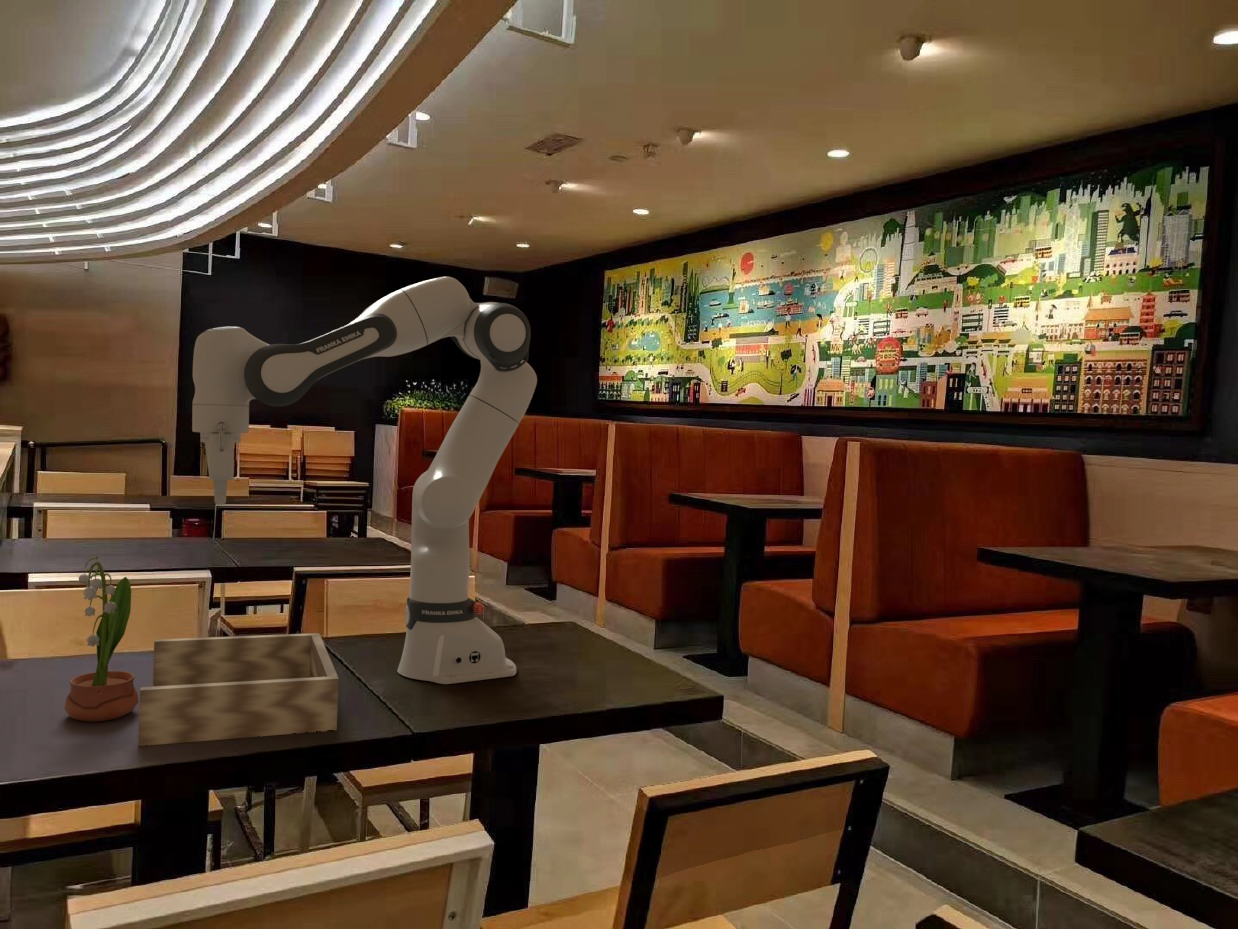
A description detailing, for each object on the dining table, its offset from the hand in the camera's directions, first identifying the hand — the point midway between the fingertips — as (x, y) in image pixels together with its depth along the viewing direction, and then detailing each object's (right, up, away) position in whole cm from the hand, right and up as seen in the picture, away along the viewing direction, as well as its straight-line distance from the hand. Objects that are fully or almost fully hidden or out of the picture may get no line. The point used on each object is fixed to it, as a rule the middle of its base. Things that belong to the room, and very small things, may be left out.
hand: (220, 503), depth 156 cm
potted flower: (-12, -32, -15) cm, 38 cm away
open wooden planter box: (+6, -33, -7) cm, 34 cm away
